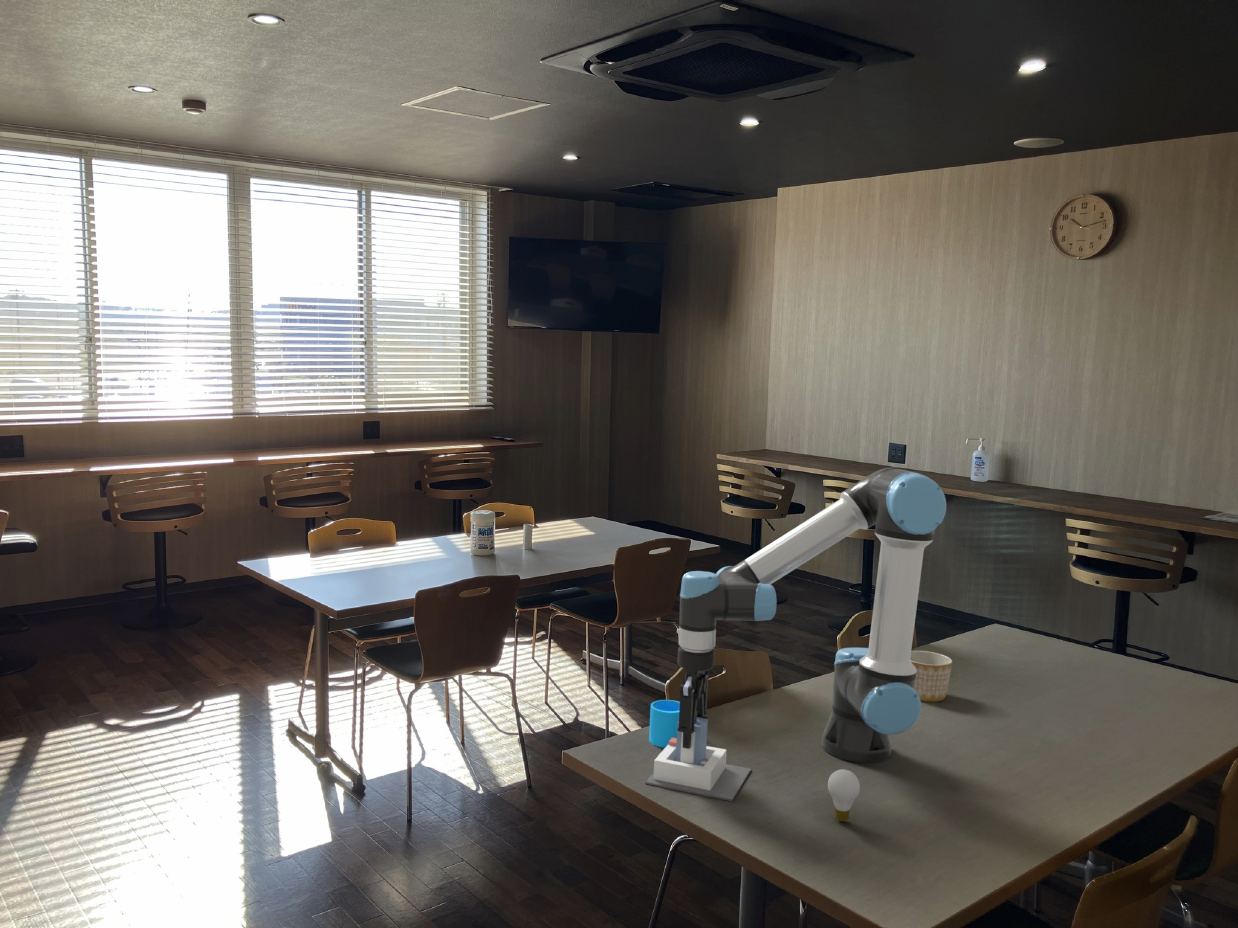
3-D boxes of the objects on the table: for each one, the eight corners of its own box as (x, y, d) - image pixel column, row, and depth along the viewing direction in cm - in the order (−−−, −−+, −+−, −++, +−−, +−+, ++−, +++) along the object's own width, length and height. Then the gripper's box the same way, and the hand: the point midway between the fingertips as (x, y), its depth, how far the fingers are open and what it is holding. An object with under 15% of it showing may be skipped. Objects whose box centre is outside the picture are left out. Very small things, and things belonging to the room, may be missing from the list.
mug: (663, 750, 210) (665, 714, 210) (642, 738, 217) (643, 703, 216) (705, 740, 217) (707, 705, 216) (683, 728, 224) (685, 694, 223)
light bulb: (821, 814, 183) (824, 763, 182) (851, 814, 184) (854, 764, 183) (831, 828, 177) (834, 777, 176) (861, 828, 178) (865, 777, 177)
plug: (705, 755, 199) (708, 709, 198) (698, 764, 195) (701, 717, 194) (682, 751, 201) (685, 705, 200) (675, 760, 196) (678, 713, 195)
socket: (750, 770, 202) (752, 746, 201) (731, 801, 187) (733, 775, 186) (670, 754, 208) (671, 731, 208) (645, 783, 193) (646, 758, 193)
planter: (954, 694, 256) (957, 656, 255) (942, 707, 245) (945, 668, 244) (907, 684, 263) (909, 647, 262) (893, 696, 252) (896, 658, 251)
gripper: (691, 634, 205) (686, 738, 208) (665, 656, 188) (660, 769, 191) (725, 638, 203) (720, 744, 205) (701, 662, 186) (696, 776, 188)
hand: (691, 756), depth 198 cm, fingers closed on plug, 5 cm apart
